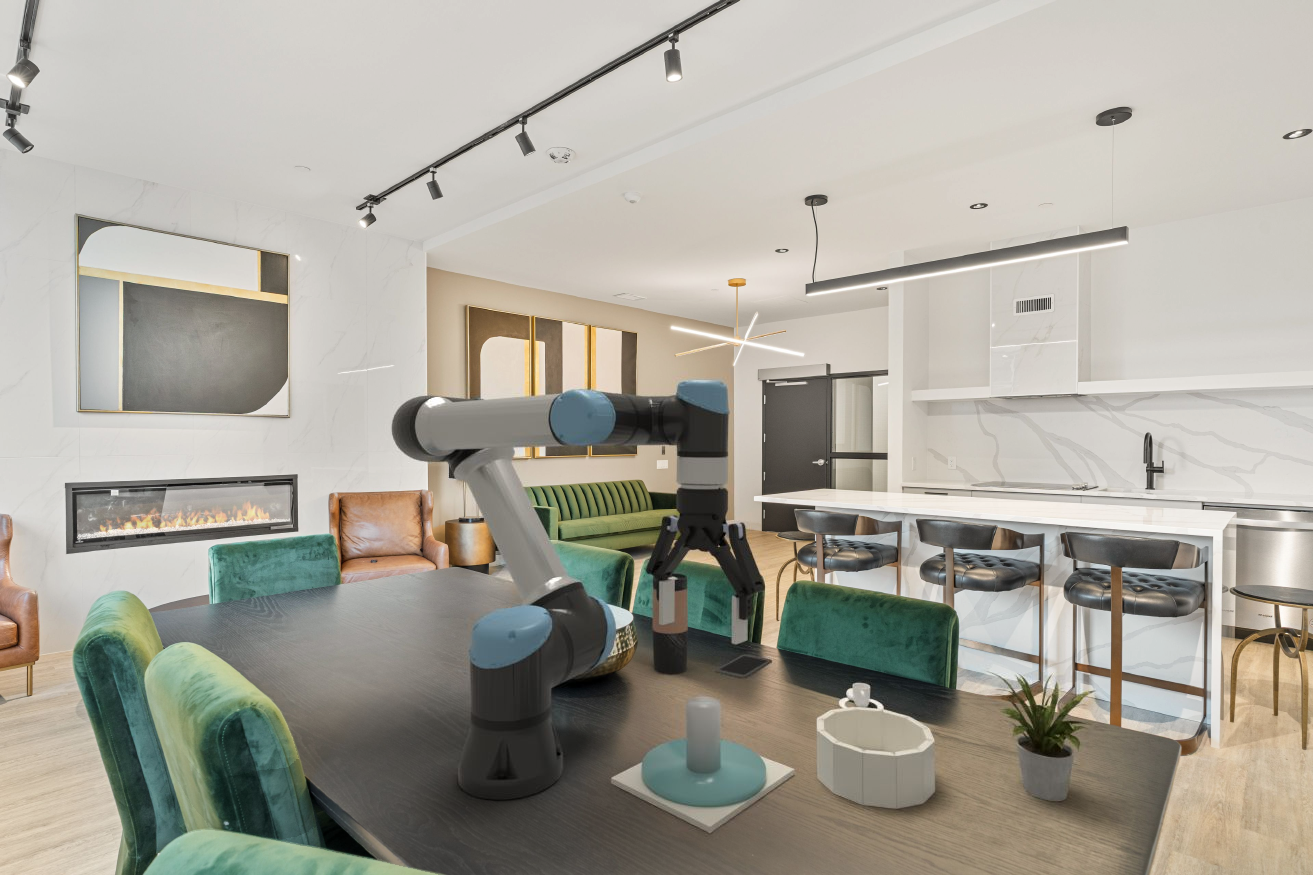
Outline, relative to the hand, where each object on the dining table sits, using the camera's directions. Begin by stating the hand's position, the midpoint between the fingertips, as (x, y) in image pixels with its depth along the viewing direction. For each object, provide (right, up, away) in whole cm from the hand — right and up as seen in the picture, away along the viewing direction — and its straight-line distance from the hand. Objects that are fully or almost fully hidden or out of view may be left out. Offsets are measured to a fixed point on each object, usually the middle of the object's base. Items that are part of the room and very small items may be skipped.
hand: (701, 632), depth 96 cm
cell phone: (+13, -22, +48) cm, 55 cm away
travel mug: (-4, -22, +47) cm, 52 cm away
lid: (0, -20, 0) cm, 20 cm away
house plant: (+46, -21, -4) cm, 51 cm away
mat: (0, -21, 0) cm, 21 cm away
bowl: (+25, -21, 0) cm, 33 cm away
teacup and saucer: (+34, -22, +28) cm, 49 cm away
